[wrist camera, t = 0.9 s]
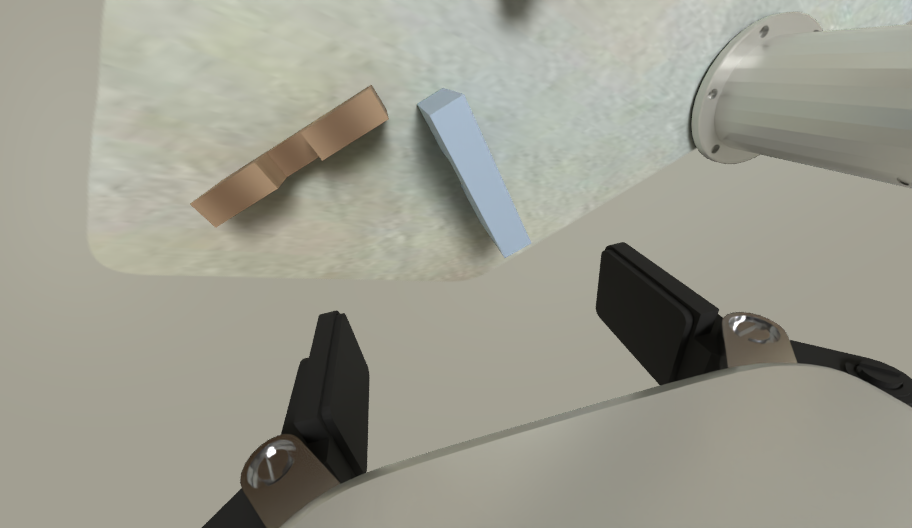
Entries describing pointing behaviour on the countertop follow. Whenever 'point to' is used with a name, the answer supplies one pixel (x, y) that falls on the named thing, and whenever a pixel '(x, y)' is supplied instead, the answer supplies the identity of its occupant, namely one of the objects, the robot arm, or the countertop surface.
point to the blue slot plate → (474, 168)
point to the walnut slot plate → (292, 156)
